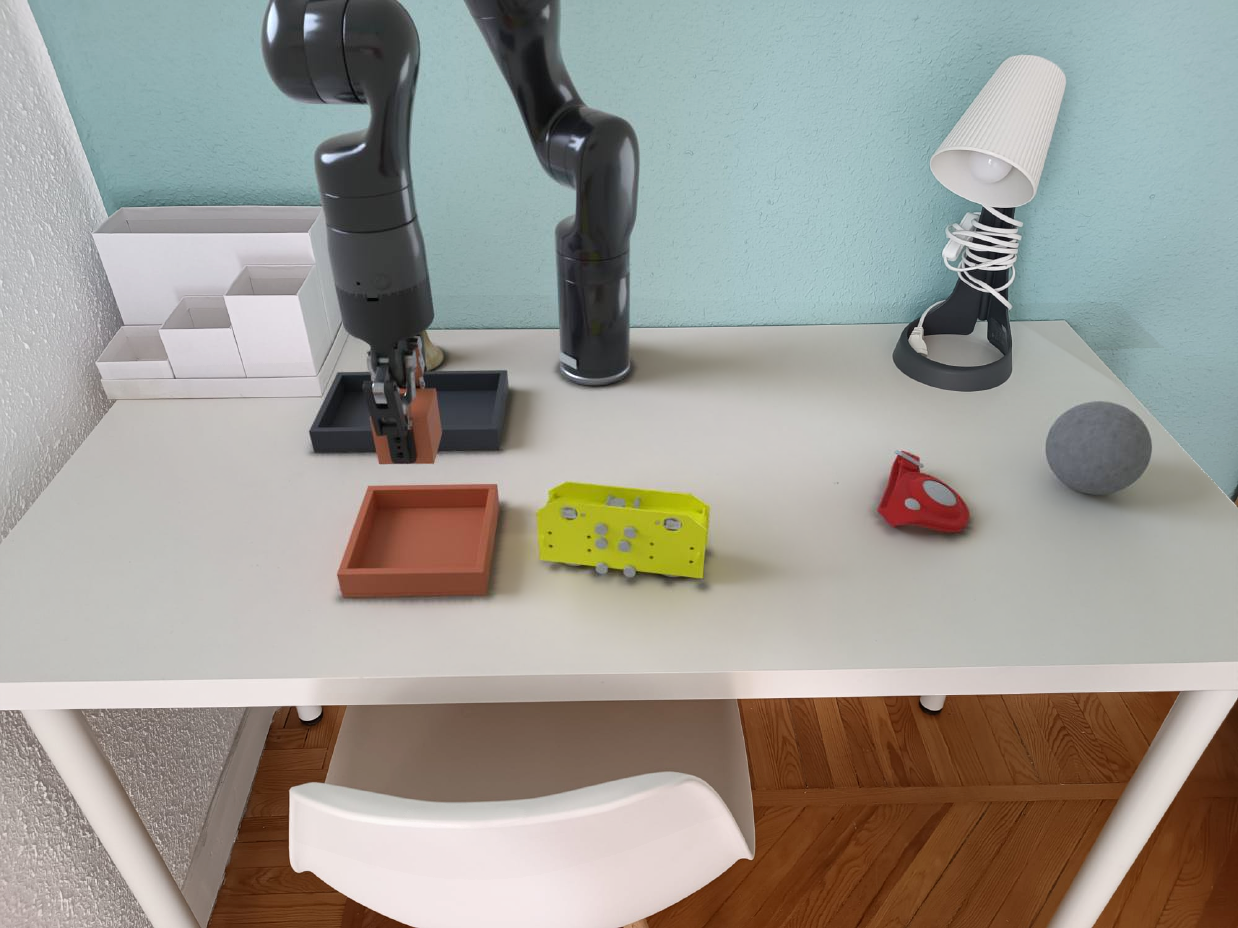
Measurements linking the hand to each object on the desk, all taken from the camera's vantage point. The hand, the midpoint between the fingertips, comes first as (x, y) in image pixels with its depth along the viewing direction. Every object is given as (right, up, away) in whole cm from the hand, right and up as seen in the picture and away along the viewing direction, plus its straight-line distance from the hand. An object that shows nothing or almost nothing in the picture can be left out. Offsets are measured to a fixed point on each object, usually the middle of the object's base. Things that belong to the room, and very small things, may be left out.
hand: (410, 443), depth 81 cm
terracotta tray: (0, -10, +8) cm, 13 cm away
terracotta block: (0, 0, 0) cm, 1 cm away
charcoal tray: (-6, +4, +27) cm, 28 cm away
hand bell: (-9, +12, +39) cm, 42 cm away
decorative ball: (+71, -4, +16) cm, 73 cm away
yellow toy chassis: (+20, -12, +6) cm, 24 cm away
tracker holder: (+52, -6, +13) cm, 54 cm away
